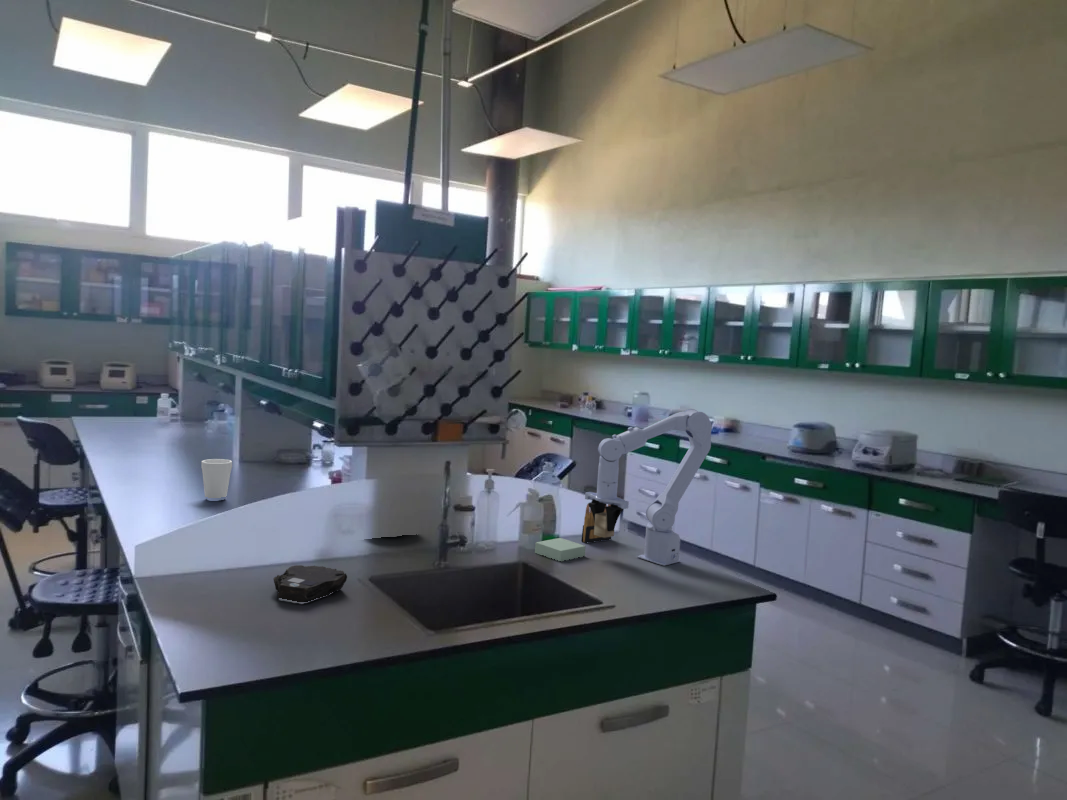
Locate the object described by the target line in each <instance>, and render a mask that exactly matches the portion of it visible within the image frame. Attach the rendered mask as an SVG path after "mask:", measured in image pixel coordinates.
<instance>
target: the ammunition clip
mask: <svg viewBox="0 0 1067 800" xmlns="http://www.w3.org/2000/svg"><path fill="white" fill-rule="evenodd" d="M589 503H590V502H588V503H586V507H585V514H584V521H583V525H582V532H581V534H582V535H581V541H582V543H583V542H584V544H588V543H587V542H592V543H595V542H594V541H599V542H602V541H601V540H606V541H610V540H609V539H611V540H612V536H611V537H606V538H603V537H600V536H597V535H594V525H595V523H594V518H593V514H592V511H591V509H590V507H589ZM607 506H611V505H609V504H606V506H605V507H607ZM604 512H606V509H605V510H604Z"/></svg>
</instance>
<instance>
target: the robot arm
mask: <svg viewBox="0 0 1067 800" xmlns="http://www.w3.org/2000/svg"><path fill="white" fill-rule="evenodd" d="M712 430H713V425H712V422H711V419H710V417H709V416H708V415H707V414H706V413H705V412H703V411H698V410H696V409H694V408H688V409H685V410H684V411H680V412H676V413H674V414H671V415H670V416H668V417H665V418H663V419H662V420H659V421H656V422H655V423H653V424H650V425H649V426H646V427H644V428H639V427H638V426H635V427H632V426H630V427H628V428H627V430H626V431H624V432H621V433H619V434H613V435H612V438H610V437H609V438H607V437H606V438H603V439H602V440H601V441H600V443H599V444H598V446H597V453H598V454H599V459H598V462H599V463H598V467H597V470H598V471H597V482H596V484H597V485H596V492H593V491H587V492H585V493H584V499H585V500H590V501H591V502H588V503H589V507H590V509H591V511H592V514H593V518H594V523H595V514H597V513H603V512H604V510H605V509H606V513H607V531H614V532H615V527H616V525H617V522H618V519H619V517H620V516H621V514H622V513H623V511H624V510H625V509H629V504H630V503H629V502H630V501H628V500H626V499H622V498H621V497H618V486H619V483H618V482H619V473H620V469H619V468H620V466H619V462H620V458H621V457H622V455H626V454H628V453H631V452H633V451H635V450H638V449H640V448H642V447H645V445H646V443H647V441H648V440H650V439H653V438H655V437H658V436H660V435H662V434H666V433H668V432H671V431H680V432H685V433H686V435H687V438H688V440H689V445H690V446H689V448H688V450H687V451H686V453H685V455H683V458H682V460H681V461H680V463H679V465H678V466H677V468H676V470H675V471H674V473H673V475H672V476H671V478H670V480H669V482H668V483H667V485H666V487H665V488H664V490H663V491H662V493H660V494H659V495H658V496H656V499H655V500H654V501H653V502H652V503H650V504H649V505H648V506H647V507H646V509H645V516H646V519H647V520H648V522H647V524H646V526H645V538H644V553H642V554H639V555H637V558H639V559H640V560H641V559H642V560H644V561H648V562H651V563H654V564H657V565H661V566H668V565H671V564H677V563H679V562H681V559H680V550H681V549H680V548H681V536H680V534H678V533H676V532H674V531H673V526H674V525H675V519H676V514H677V513H678V510H679V503H680V500H681V499H682V498H683V496H684V494H685V492H686V491H687V489H688V487H689V485H690V484H691V482H692V481H693V479H694V477H695V475H696V474H697V472H698V471H699V469H700V467H701V465H702V463H703V462H704V460H706V457H707V456H708V454H709V452H710V451H711V447H712ZM606 504H607V507H605V506H606ZM608 504H609V505H611V506H608Z"/></svg>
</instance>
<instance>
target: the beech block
mask: <svg viewBox="0 0 1067 800" xmlns="http://www.w3.org/2000/svg"><path fill="white" fill-rule="evenodd" d="M594 535H597V536H600V537H603V538H606V537H611V538H612V537H614V536H615V530H614V531H607V513H606V512H603V513H597V514H595V525H594Z"/></svg>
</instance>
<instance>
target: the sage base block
mask: <svg viewBox="0 0 1067 800" xmlns="http://www.w3.org/2000/svg"><path fill="white" fill-rule="evenodd" d="M534 547H535V548H534V553H535V554H537V555H541V556H542V555H544V556H543V557H545V556H546V558H548V559H551V558H552V559H551V560H554V559H555V560H554V561H557V560H558V561H557V562H559V561H561V562H565V561H564V560H566V561H569V559H570V560H573V558H575V559H579V558H578V557H580V558H583V556H584V557H586V545H584V544H581V543H578V542H574V541H572V540H569V539H565V538H563V537H556V538H553V539H547V540H542V541H536V542H535V545H534Z"/></svg>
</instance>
